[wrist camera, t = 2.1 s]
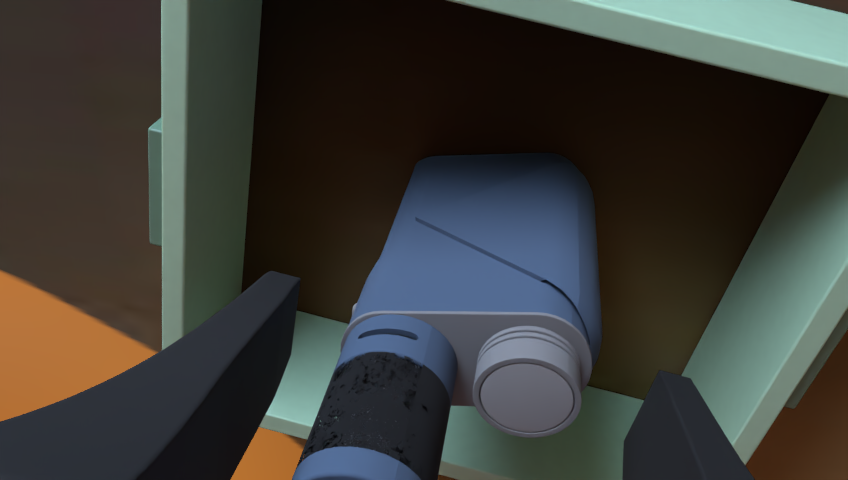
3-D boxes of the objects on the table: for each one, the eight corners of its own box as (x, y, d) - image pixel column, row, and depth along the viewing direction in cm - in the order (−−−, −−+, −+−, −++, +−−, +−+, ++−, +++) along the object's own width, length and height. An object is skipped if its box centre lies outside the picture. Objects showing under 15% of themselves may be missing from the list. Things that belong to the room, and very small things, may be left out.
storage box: (691, 426, 24) (714, 547, 20) (208, 301, 25) (143, 397, 21) (916, 29, 17) (1015, 104, 13) (226, -136, 17) (133, -109, 14)
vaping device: (398, 150, 21) (238, 513, 11) (594, 145, 20) (621, 541, 10) (409, 231, 22) (275, 620, 12) (593, 230, 21) (615, 654, 11)
